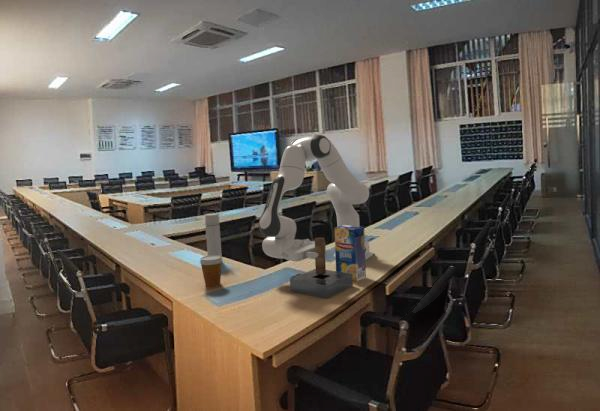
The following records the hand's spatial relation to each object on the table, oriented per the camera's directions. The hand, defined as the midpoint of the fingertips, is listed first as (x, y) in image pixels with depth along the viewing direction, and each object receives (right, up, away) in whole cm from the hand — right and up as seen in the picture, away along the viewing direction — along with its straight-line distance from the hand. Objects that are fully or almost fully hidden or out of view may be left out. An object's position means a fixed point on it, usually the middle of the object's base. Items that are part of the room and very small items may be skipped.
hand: (321, 253), depth 177 cm
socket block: (0, -14, +2) cm, 15 cm away
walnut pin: (0, -8, +2) cm, 8 cm away
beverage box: (+13, -12, +16) cm, 24 cm away
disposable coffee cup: (-46, -15, +15) cm, 51 cm away
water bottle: (-53, -10, +55) cm, 78 cm away
